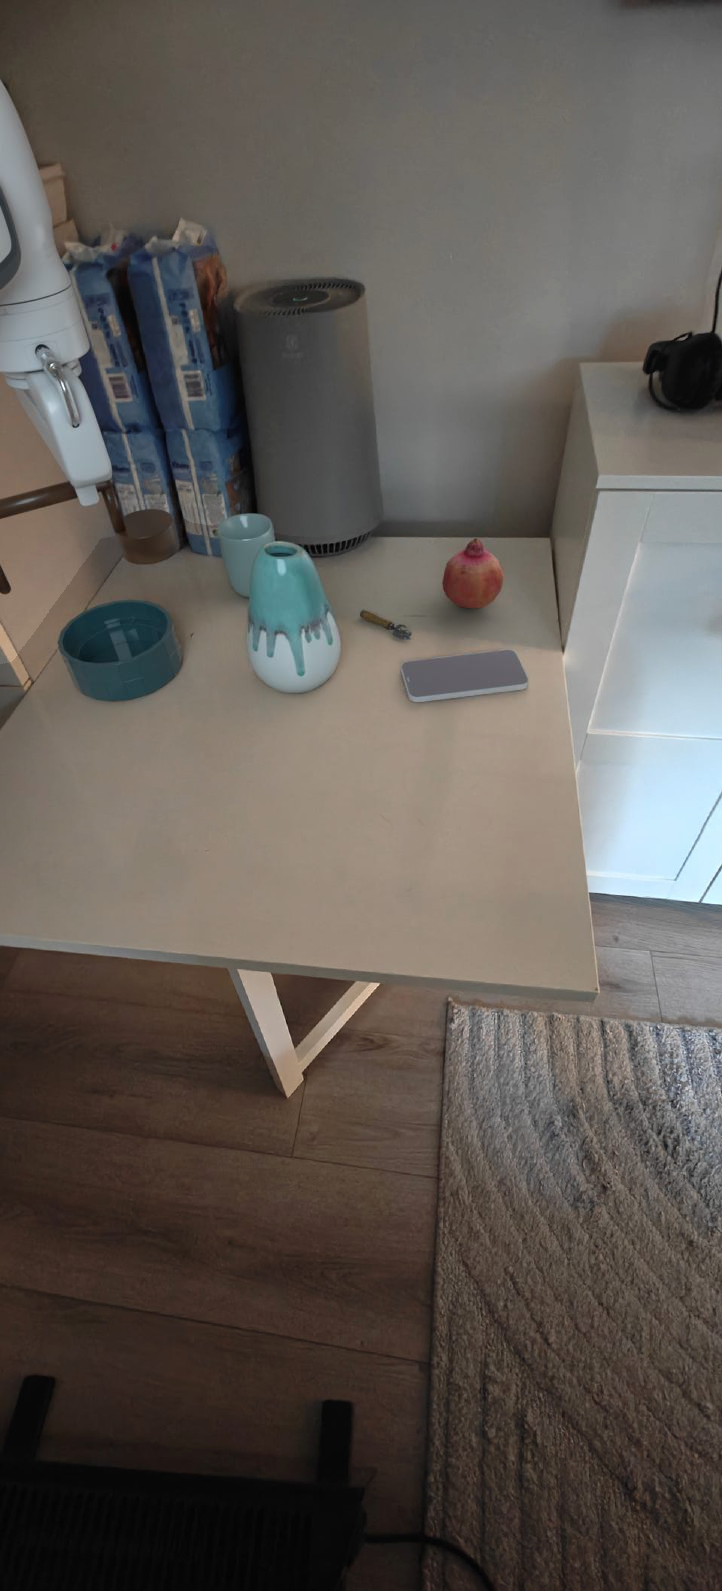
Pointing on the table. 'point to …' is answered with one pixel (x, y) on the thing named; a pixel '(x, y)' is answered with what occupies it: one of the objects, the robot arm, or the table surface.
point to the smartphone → (463, 675)
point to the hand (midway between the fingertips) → (85, 496)
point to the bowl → (120, 649)
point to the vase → (290, 621)
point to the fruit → (473, 577)
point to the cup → (243, 546)
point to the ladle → (137, 532)
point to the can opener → (387, 625)
